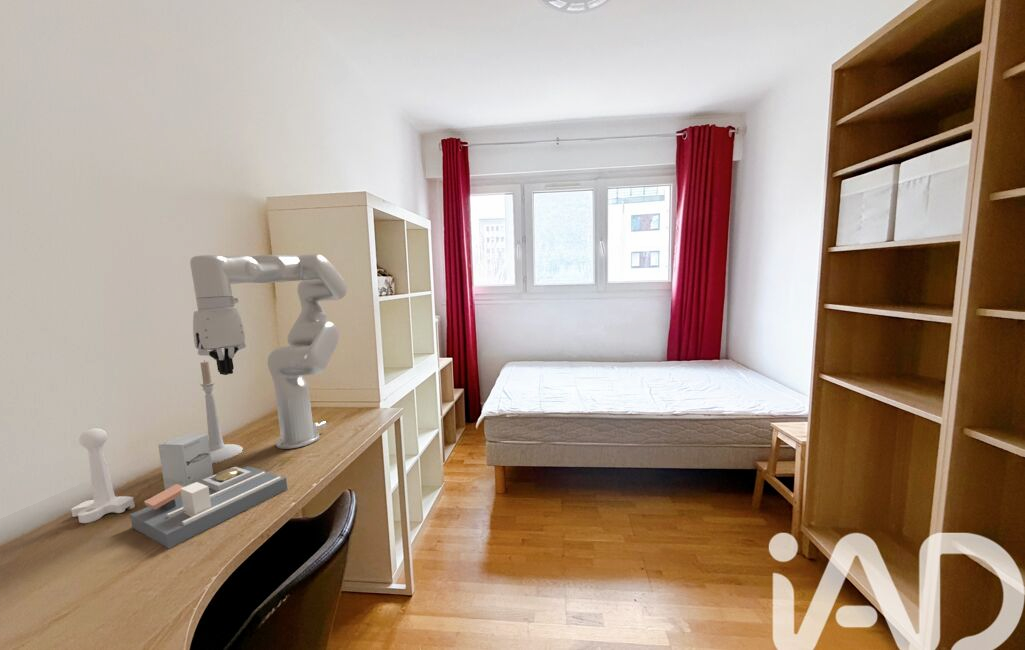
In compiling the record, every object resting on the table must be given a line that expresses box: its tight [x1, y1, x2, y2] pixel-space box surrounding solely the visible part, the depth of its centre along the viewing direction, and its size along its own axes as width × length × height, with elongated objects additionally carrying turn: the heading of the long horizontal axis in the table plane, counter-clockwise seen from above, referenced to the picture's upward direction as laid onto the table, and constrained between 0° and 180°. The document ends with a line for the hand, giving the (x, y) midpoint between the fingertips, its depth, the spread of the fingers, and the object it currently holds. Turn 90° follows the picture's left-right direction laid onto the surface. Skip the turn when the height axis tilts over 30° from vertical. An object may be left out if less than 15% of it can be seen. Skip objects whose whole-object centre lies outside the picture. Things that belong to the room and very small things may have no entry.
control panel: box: [129, 465, 288, 549], centre depth 92 cm, size 24×17×4 cm
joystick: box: [70, 427, 136, 524], centre depth 90 cm, size 11×8×20 cm
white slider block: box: [180, 482, 212, 516], centre depth 85 cm, size 3×5×5 cm, turn 62°
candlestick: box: [200, 360, 244, 465], centre depth 120 cm, size 13×13×30 cm
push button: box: [215, 467, 238, 483], centre depth 98 cm, size 4×4×2 cm
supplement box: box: [158, 433, 214, 490], centre depth 103 cm, size 7×7×13 cm
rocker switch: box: [144, 484, 183, 510], centre depth 87 cm, size 6×4×1 cm
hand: (226, 373), depth 103 cm, fingers closed
